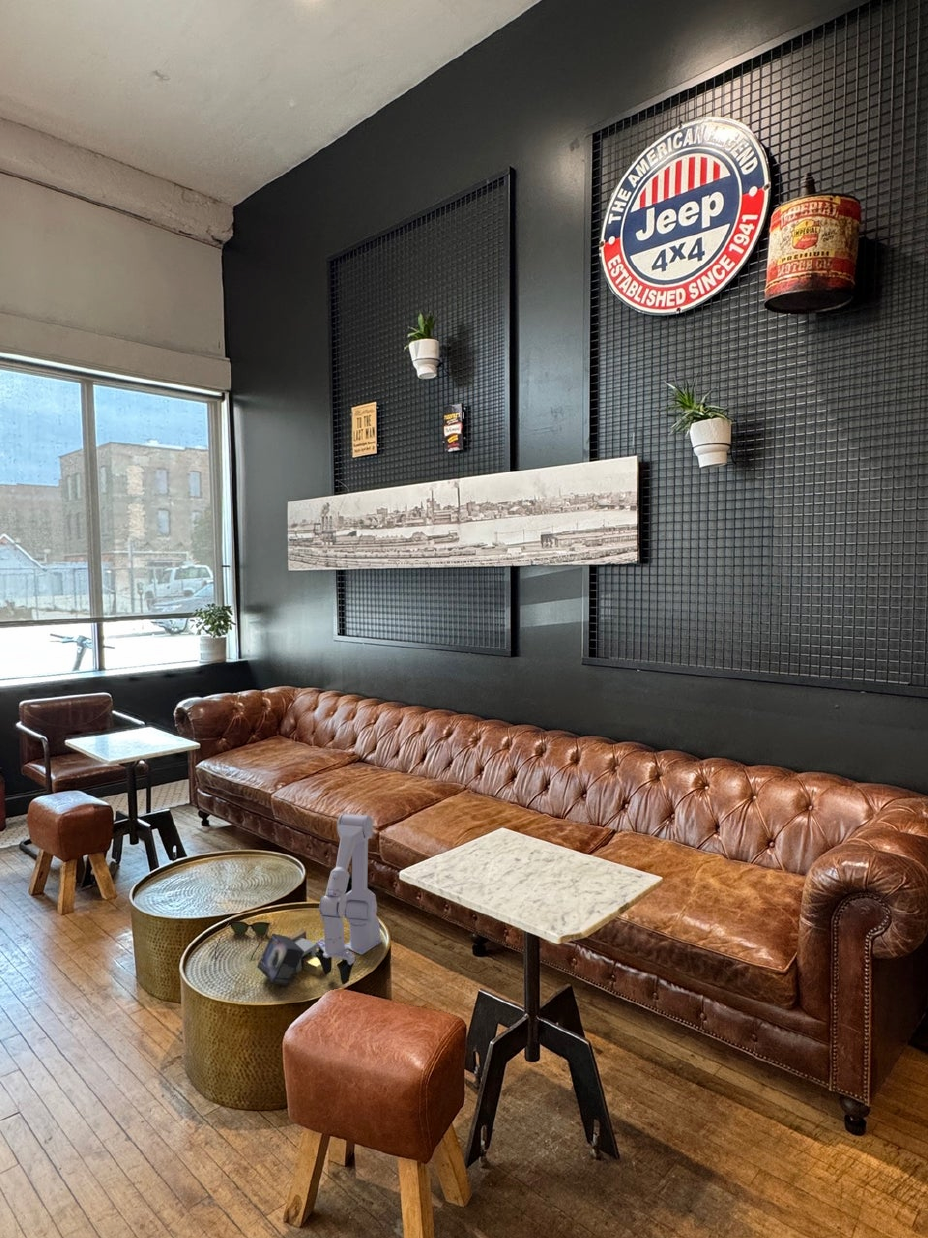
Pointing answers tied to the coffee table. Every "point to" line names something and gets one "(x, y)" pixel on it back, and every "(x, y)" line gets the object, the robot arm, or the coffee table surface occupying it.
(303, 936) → the backstop wall
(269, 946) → the small box
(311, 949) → the socket block
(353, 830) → the robot arm
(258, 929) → the sunglasses
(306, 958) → the yellow rectangular bar
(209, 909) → the coffee table surface
